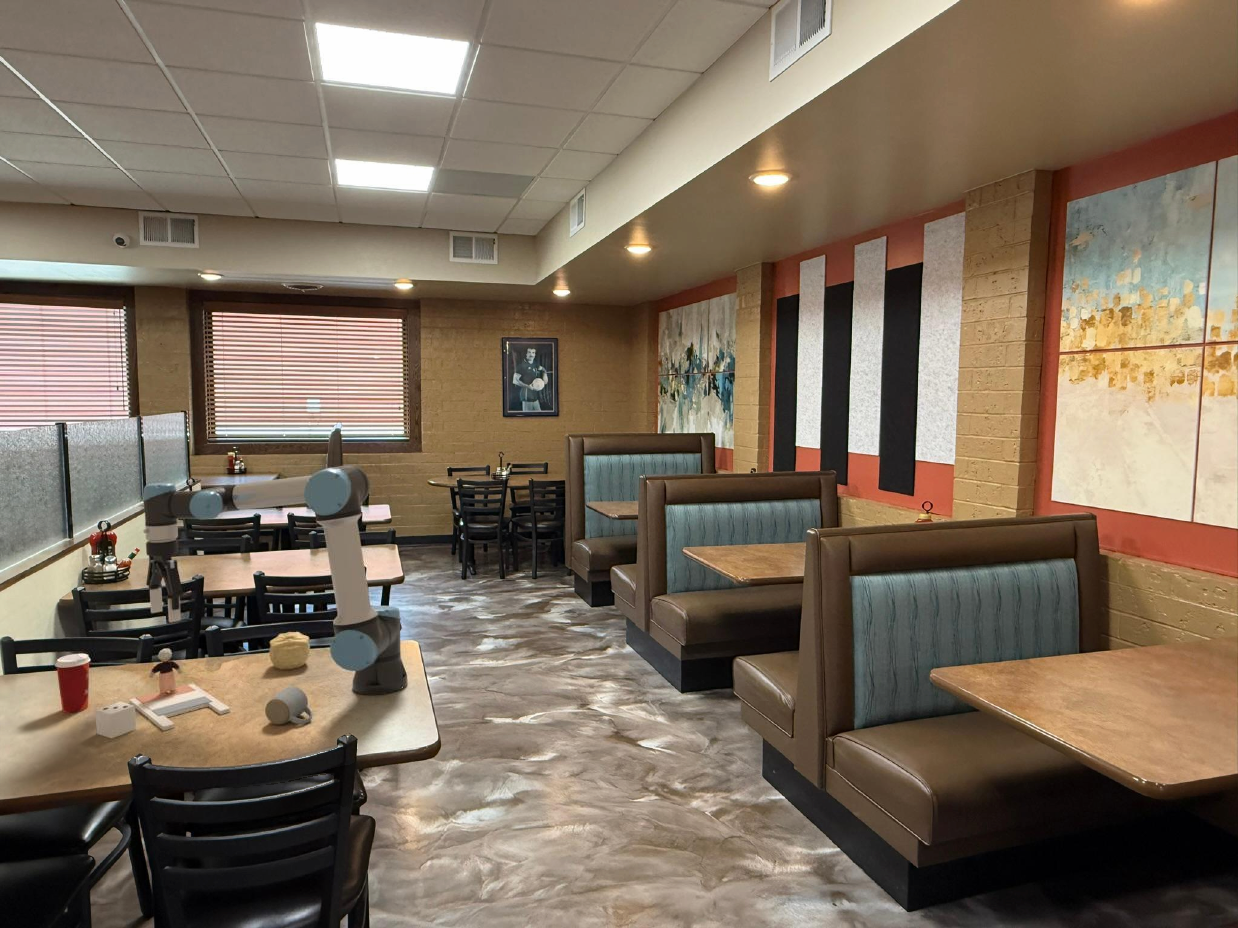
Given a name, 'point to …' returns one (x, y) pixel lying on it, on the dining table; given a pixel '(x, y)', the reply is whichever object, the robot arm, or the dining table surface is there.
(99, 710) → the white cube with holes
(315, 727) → the dining table surface
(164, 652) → the grandmother figurine
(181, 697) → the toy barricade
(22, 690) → the dining table surface
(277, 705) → the ceramic mug
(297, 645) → the pale yellow rounded lump
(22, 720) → the dining table surface
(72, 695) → the paper cup
